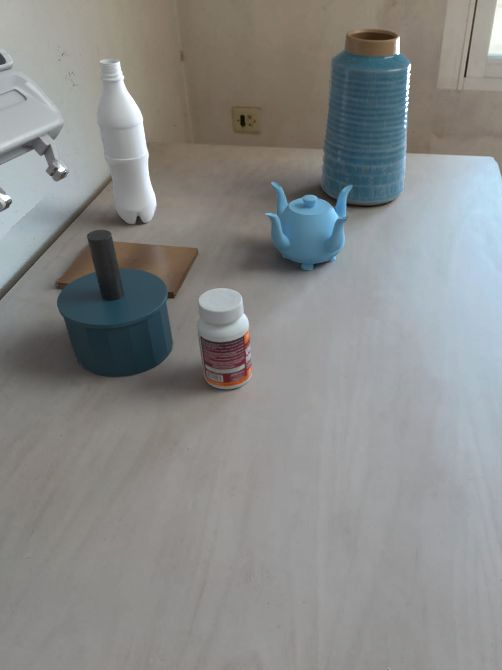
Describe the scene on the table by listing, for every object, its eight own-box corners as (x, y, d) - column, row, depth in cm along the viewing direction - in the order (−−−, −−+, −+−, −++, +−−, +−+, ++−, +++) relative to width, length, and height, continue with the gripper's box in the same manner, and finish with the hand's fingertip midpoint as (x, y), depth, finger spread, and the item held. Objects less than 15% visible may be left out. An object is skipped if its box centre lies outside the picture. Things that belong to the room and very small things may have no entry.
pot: (60, 371, 80) (44, 322, 75) (97, 317, 89) (85, 270, 84) (156, 380, 79) (146, 331, 74) (183, 325, 88) (176, 277, 83)
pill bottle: (259, 384, 79) (255, 307, 71) (212, 396, 77) (202, 318, 69) (242, 357, 83) (237, 281, 76) (197, 368, 81) (187, 291, 74)
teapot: (345, 279, 99) (348, 218, 92) (261, 273, 99) (259, 212, 92) (349, 241, 108) (352, 183, 101) (273, 236, 109) (271, 178, 102)
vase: (326, 172, 130) (330, 21, 112) (405, 178, 129) (422, 26, 111) (315, 205, 118) (318, 42, 100) (401, 212, 117) (420, 48, 99)
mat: (58, 288, 95) (56, 282, 94) (93, 245, 105) (92, 239, 104) (174, 298, 93) (173, 292, 93) (198, 253, 104) (198, 248, 103)
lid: (40, 328, 75) (17, 257, 69) (84, 272, 85) (67, 206, 79) (149, 337, 74) (135, 267, 68) (181, 280, 84) (171, 214, 78)
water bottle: (154, 227, 110) (127, 68, 93) (113, 226, 110) (78, 66, 93) (162, 210, 115) (138, 56, 98) (123, 209, 115) (92, 54, 98)
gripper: (-143, 92, 59) (-26, 212, 63) (14, 45, 73) (102, 146, 77) (-153, 134, 63) (-43, 244, 67) (-3, 82, 77) (81, 176, 81)
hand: (36, 191), depth 72 cm, fingers open, 8 cm apart
